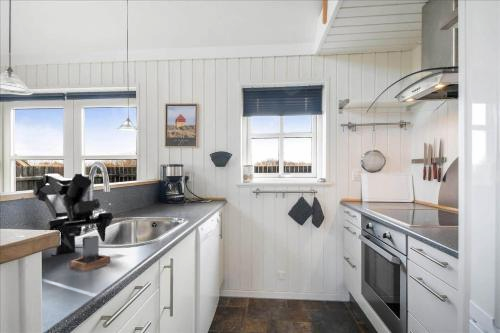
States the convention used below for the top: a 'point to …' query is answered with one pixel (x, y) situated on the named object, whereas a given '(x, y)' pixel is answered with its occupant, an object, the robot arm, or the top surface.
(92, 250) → the dark grey cylinder
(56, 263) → the top surface
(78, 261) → the wooden board with frame
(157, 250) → the top surface
